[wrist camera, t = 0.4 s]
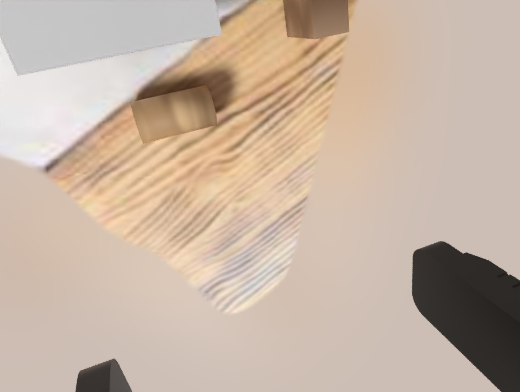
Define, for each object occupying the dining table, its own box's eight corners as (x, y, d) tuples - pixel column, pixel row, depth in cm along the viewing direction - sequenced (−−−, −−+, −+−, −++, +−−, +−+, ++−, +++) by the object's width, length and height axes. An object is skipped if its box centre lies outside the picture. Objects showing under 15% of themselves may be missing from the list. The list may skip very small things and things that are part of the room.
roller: (142, 138, 29) (143, 147, 27) (130, 99, 28) (130, 105, 25) (211, 121, 30) (219, 128, 28) (202, 83, 29) (209, 87, 26)
